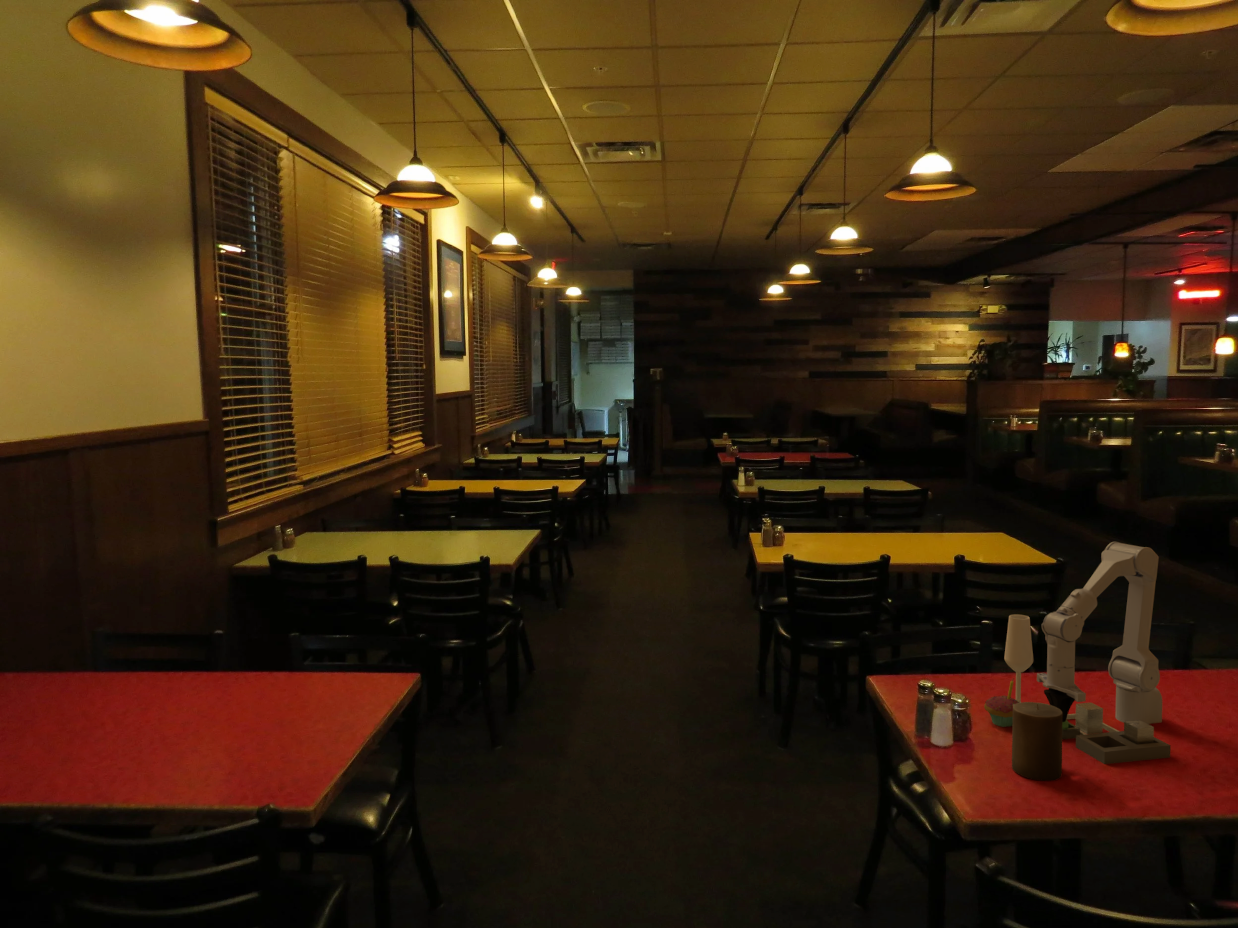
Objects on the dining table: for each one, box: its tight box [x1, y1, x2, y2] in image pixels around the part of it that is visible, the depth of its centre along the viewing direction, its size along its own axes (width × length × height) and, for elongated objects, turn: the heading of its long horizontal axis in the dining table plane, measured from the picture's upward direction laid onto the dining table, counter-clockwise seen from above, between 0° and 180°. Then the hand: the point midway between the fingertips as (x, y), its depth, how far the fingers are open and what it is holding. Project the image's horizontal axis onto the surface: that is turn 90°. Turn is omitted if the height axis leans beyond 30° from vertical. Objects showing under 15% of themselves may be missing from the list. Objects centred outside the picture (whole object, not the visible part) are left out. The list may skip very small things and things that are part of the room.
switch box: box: [1062, 721, 1081, 740], centre depth 200 cm, size 6×6×3 cm
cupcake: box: [983, 678, 1019, 728], centre depth 207 cm, size 9×8×12 cm
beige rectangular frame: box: [1066, 713, 1119, 735], centre depth 202 cm, size 9×14×2 cm, turn 9°
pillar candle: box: [1011, 701, 1063, 782], centre depth 182 cm, size 10×10×15 cm
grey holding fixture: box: [1075, 730, 1171, 765], centre depth 189 cm, size 16×9×4 cm, turn 99°
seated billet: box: [1123, 720, 1155, 745], centre depth 190 cm, size 4×4×6 cm
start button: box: [1062, 720, 1069, 729], centre depth 200 cm, size 4×4×4 cm
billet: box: [1075, 702, 1104, 734], centre depth 202 cm, size 4×4×6 cm
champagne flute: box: [1003, 614, 1034, 703], centre depth 217 cm, size 7×7×24 cm
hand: (1059, 721), depth 200 cm, fingers closed, pressing on start button
